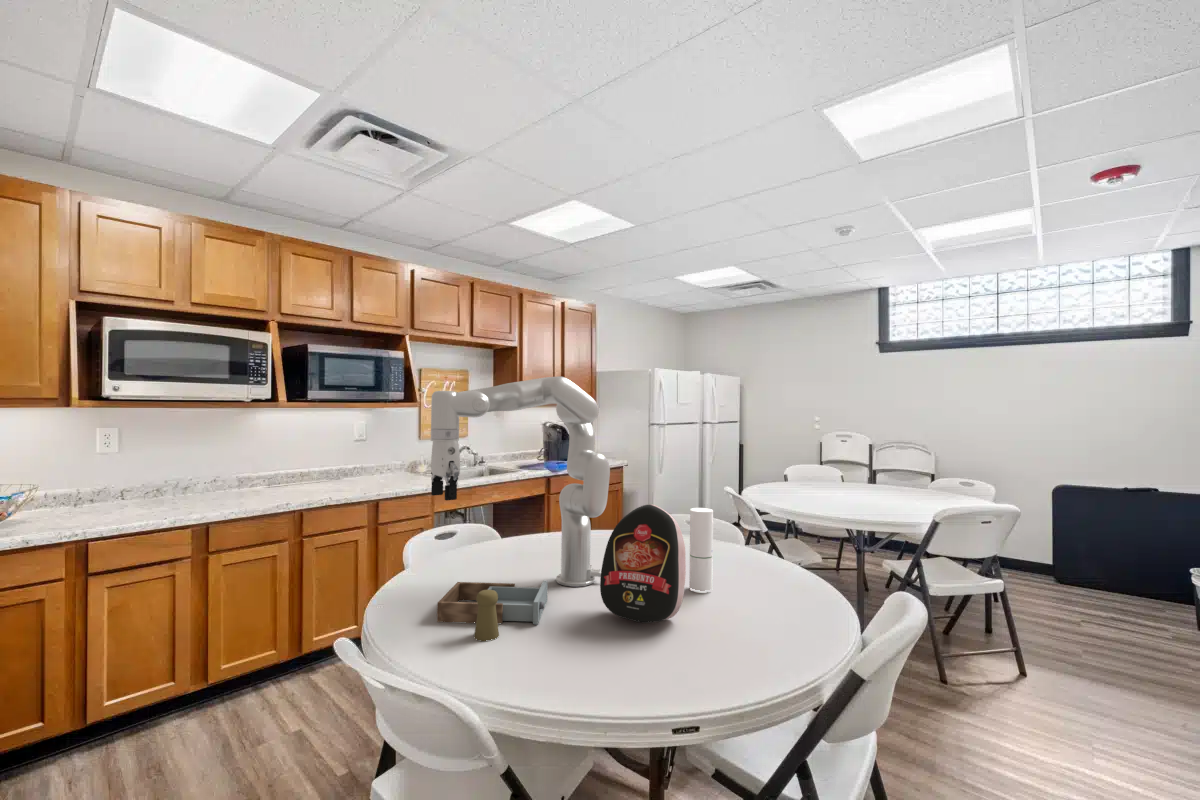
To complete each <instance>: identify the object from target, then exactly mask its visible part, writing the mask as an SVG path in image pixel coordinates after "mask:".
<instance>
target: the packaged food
mask: <svg viewBox="0 0 1200 800" xmlns="http://www.w3.org/2000/svg"><path fill="white" fill-rule="evenodd" d="M684 539H685V538H684V536H683V532H682V530H681V527H680V525H679V523H678V522H677V520H676V519H675V518H674V517H673V516H672V515H671V514H670V513H669V512H668V511H666V510H665V509H663V508H662V507H660V506H658V505H656V504H652V503H651V504H649V503H648V504H645V505H644V504H643V505H640V506H638V507H636V508H635V509H633V510H632V511H630V512H628V513H627V514H626V515H625V516H623V517H622V518H621V519H620V520H619V522H618V523H617V524H616V526H614V529H613V530H612V532H611V534H610V537H609V538H608V541H607V543H606V547H605V550H604V555H603V559H602V565H601V569H600V571H601V577H599V578H600V581H599V582H600V583H599V585H600V586H599V590H600V591H599V592H600V596H601V600H602V602H603V604H604V606H605V607H606V609H607V610H608V611H609V612H610V613H613V614H614V615H616V616H618V617H620V618H623V619H626V620H630V621H634V622H636V623H637V622H639V623H645V624H646V623H659V622H661V621H665V620H669V619H671V618H673V617H674V616H676V615H677V613H678V612H679V610H680V608H681V607H682V603H683V599H684V593H685V587H686V586H685V584H686V575H687V573H686V572H687V571H686V566H687V565H686V543H685V540H684Z"/></svg>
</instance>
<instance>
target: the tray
mask: <svg viewBox="0 0 1200 800" xmlns="http://www.w3.org/2000/svg"><path fill="white" fill-rule="evenodd" d="M548 584H549V582H548V580H543V581H542V583H541V584H540V587H532V586H531V587H529V586H528V587H523V586H522V587H521V586H515V587H497V586H490V587H489V588H488V590H494V591H496V592H497V594H498V601H497V603H503V618H502V622H503V621H504V622H507V621H508V622H532V624H533V625H539V622H540V620H541V617H542V615H543V612H544V610H545V607H546V604H547V602H548V587H549V586H548Z"/></svg>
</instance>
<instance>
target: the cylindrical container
mask: <svg viewBox="0 0 1200 800" xmlns="http://www.w3.org/2000/svg"><path fill="white" fill-rule="evenodd" d="M713 555H714V510H713V509H711V508H707V507H706V508H705V507H693V508H692V507H691V508H690V509H689V574H688V575H689V577H688V578H689V587H690V588H692V589H695V590H700V591H705V590H710V589H712V590H713V586H714V585H713V580H714V579H713V571H714V570H713V569H714V567H713V566H714V565H713V564H714V561H713V559H714V556H713ZM689 587H688V588H689Z"/></svg>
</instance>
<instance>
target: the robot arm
mask: <svg viewBox="0 0 1200 800" xmlns="http://www.w3.org/2000/svg"><path fill="white" fill-rule="evenodd" d="M546 405H556V407H555V409H556V415H557V416H558V418H559V419H560V420H561V421H562V423H563V424H564V425H565V427H566V428H567V430H568V436H569V442H568V443H569V444H568V453H567V461H566V472H567V474H568V476H569V477H570V478H572V479H575V480H579V481H582V482H583V484H581V483H575V482H574V483H569V484H567V485H565V486H564V487H563V488H562V489H561V491H560V492H559V498H558V500H559V501H558V502H559V509H560V516H561V517H560V518H561V546H560V547H561V550H560V551H561V557H560V574H558V575H557V576H556V578H555V581H556V583H557V584H559V585H561V586H565V587H575V588H576V587H577V588H578V587H586V586H590V585H592V584H594V583H595V581H596V580H595V577H597V578H601V569H594V568H593V567H592V564H591V534H592V533H591V532H592V530H591V529H592V527H591V526H592V525H591V520H590V518H597V517H599V516H602V514H603V513H604V511H605V509H606V507H607V503H608V495H609V486H610V478H611V477H610V475H611V466H610V463H609V461H608V459H607V457H606V456H605V455H604V454H601V453H600V452H595V449H596V447H595V445H596V432H595V429H594V425H593V424H592V423H593V422H595V421H596V419H597V418H598V416H599V413H600V412H599V411H600V409H599V406H598V403H597V401H596V400H595V399H594V398H593V397H592V396H591V395H590V394H588V393H587V392H586V391H585V390H583V389H582V388H581V387H579V386H578V385H577V384H576V383H575V382H573V381H571V379H568V378H567V377H564V376H558V375H557V376H547V377H546V376H545V377H539V378H532V379H527V380H521V381H514V382H508V383H503V384H499V385H495V386H489V387H482V388H477V389H469V390H464V391H459V392H457V391H452V390H435V391H434V392H433V393H432V394H431V407H430V409H431V411H430V415H431V417H430V441H431V442H432V445H431V446H432V447H431V457H430V458H431V459H430V471H431V473H430V474H431V476H430V477H431V479H430V480H431V493H430V495H431V496H442V495H444V501H455V500H457V497H458V495H457V494H458V483H459V482H458V480H459V477H460V475H461V456H460V453H461V452H460V447H459V446H460V445H459V441H460V418H475V419H476V418H479V417H483V416H484V415H486V413H491V412H513V411H520V410H526V409H530V408H535V407H541V406H546ZM443 479H444V480H443ZM444 482H445V485H444Z"/></svg>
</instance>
